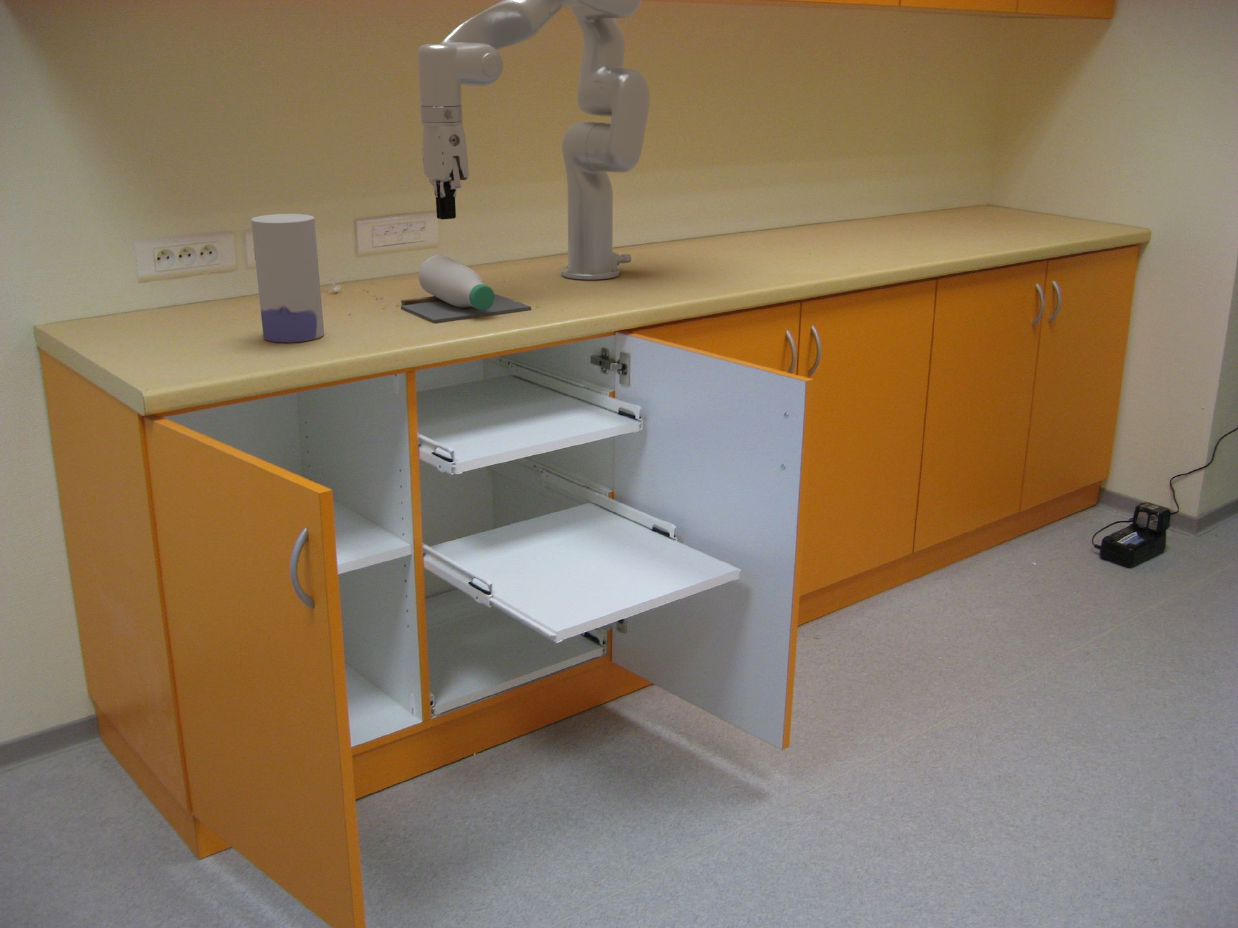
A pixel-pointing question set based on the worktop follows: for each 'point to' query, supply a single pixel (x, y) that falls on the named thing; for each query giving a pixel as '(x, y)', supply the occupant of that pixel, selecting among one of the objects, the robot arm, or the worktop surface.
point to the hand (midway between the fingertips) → (446, 218)
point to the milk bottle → (454, 283)
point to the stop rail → (420, 300)
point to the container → (288, 277)
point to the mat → (462, 310)
